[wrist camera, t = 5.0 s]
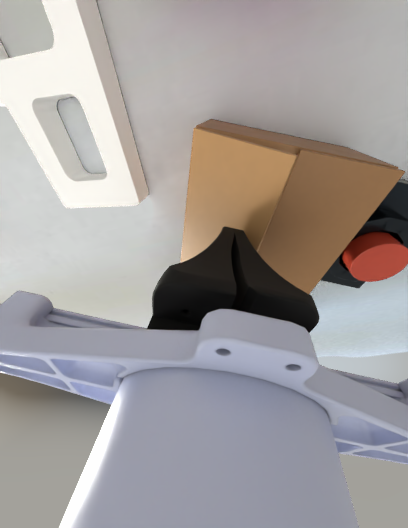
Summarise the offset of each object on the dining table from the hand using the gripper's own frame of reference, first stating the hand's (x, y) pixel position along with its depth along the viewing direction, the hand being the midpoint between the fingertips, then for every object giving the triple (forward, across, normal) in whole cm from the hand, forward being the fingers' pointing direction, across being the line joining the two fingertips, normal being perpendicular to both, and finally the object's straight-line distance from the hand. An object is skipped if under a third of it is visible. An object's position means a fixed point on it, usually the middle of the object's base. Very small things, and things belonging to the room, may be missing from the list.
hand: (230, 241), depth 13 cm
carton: (+10, -2, 0) cm, 10 cm away
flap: (+1, +1, 0) cm, 1 cm away
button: (+7, -14, +2) cm, 16 cm away
